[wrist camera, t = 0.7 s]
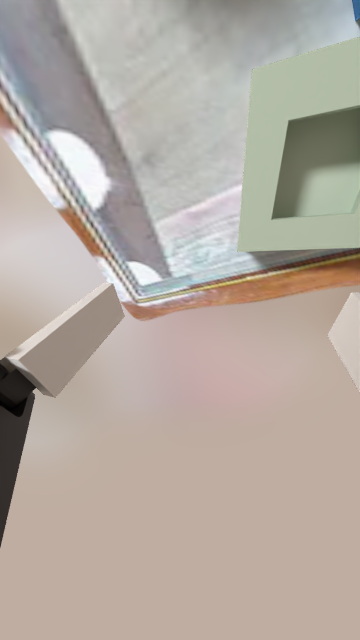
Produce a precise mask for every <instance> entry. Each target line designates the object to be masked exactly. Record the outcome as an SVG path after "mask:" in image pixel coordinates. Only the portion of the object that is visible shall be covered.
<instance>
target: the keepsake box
mask: <svg viewBox="0 0 360 640" xmlns="http://www.w3.org/2000/svg"><path fill="white" fill-rule="evenodd" d="M337 248H360V37H357V38H354V39H350V40H347V41H344V42H341V43H337V44H334V45H331V46H327V47H324V48H321V49H317V50H314V51H311V52H307V53H304V54H301V55H297V56H294V57H291V58H288V59H284V60H281V61H278V62H274V63H271V64H268V65H264V66H261V67H258V68H254V69H252V76H251V86H250V96H249V108H248V121H247V133H246V146H245V158H244V170H243V183H242V195H241V208H240V220H239V233H238V248H237V252H248V251H278V250H307V249H337Z"/></svg>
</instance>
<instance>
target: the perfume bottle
mask: <svg viewBox="0 0 360 640" xmlns="http://www.w3.org/2000/svg"><path fill="white" fill-rule="evenodd" d="M352 2H353V9H354V15H355V21H357V20H358V19H359V18H360V0H352Z"/></svg>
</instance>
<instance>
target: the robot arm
mask: <svg viewBox="0 0 360 640" xmlns="http://www.w3.org/2000/svg"><path fill="white" fill-rule="evenodd" d="M123 318H124V313H123V310H122V307H121V304H120V302H119V299H118V296H117V293H116V290H115V287H114V284H113V283H102V284H101V285H100V286H98V287H97V288H96V289H94V290H93V291H92V292H90V293H89V294H88V295H86V296H85V297H84V298H83V299H81V300H80V301H78V302H77V303H76V304H74V305H73V306H72V307H70V308H69V309H68V310H66V311H65V312H64V313H62V314H61V315H60V316H58V317H57V318H56V319H54V320H53V321H52V322H50V323H49V324H48V325H46V326H45V327H44V328H43V329H41V330H40V331H38V332H37V333H36V334H34V335H33V336H32V337H30V338H29V339H28V340H26V341H25V342H24V343H22V344H21V345H20V346H18V347H17V348H16V349H14V350H13V351H12V352H10V353H9V354H8V355H7V356H5V357H4V358H3V359H2V360H0V546H1V542H2V538H3V533H4V529H5V525H6V520H7V516H8V512H9V507H10V503H11V499H12V494H13V490H14V485H15V481H16V477H17V473H18V469H19V464H20V460H21V455H22V451H23V447H24V443H25V438H26V434H27V430H28V425H29V421H30V417H31V412H32V408H33V404H34V399H35V394H34V393H33V392H32V391H33V390H34V389H35V388H37V389H38V390H39V391H40V392H41V393H42V394H43V395H47V396H51V397H56V396H57V395H58V394H59V393H60V392H61V391H62V389H63V388H64V387H65V386H66V385H67V384H68V382H69V381H70V380H71V379H72V378H73V376H74V375H75V374H76V373H77V372H78V370H79V369H80V368H81V367H82V366H83V365H84V364H85V362H86V361H87V360H88V359H89V358H90V356H91V355H92V354H93V353H94V352H95V351H96V349H97V348H98V347H99V346H100V345H101V344H102V342H103V341H104V340H105V339H106V338H107V337H108V335H109V334H110V333H111V332H112V331H113V329H114V328H115V327H116V326H117V325H118V324H119V322H120V321H121V320H122V319H123ZM328 337H329V339H330V341H331V343H332V344H333V346H334V348H335V350H336V352H337V353H338V355H339V357H340V359H341V361H342V362H343V364H344V366H345V368H346V369H347V371H348V373H349V375H350V377H351V378H352V380H353V382H354V384H355V385H356V387H357V389H358V391H359V393H360V293H358V292H352V293H351V294H350V296H349V298H348V300H347V301H346V303H345V305H344V307H343V309H342V310H341V312H340V314H339V316H338V317H337V319H336V321H335V323H334V325H333V326H332V328H331V330H330V332H329V333H328Z"/></svg>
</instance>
